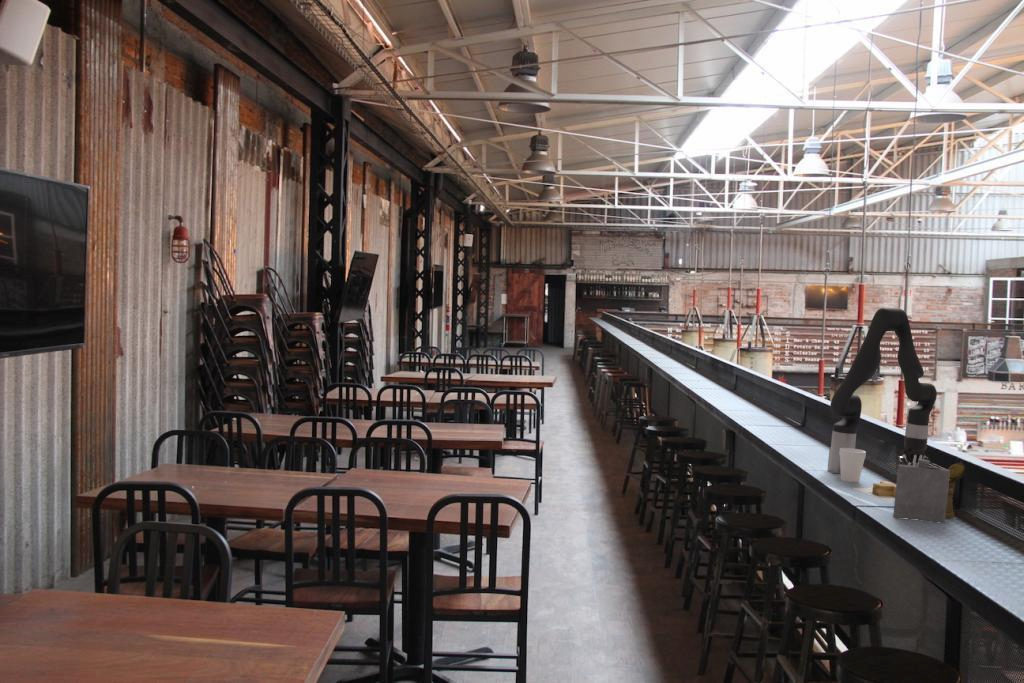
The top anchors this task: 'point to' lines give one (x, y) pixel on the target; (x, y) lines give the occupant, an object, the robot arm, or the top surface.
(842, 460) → the foam cup
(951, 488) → the wooden mug
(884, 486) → the t block
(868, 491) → the t board
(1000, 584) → the top surface
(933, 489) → the hip flask
